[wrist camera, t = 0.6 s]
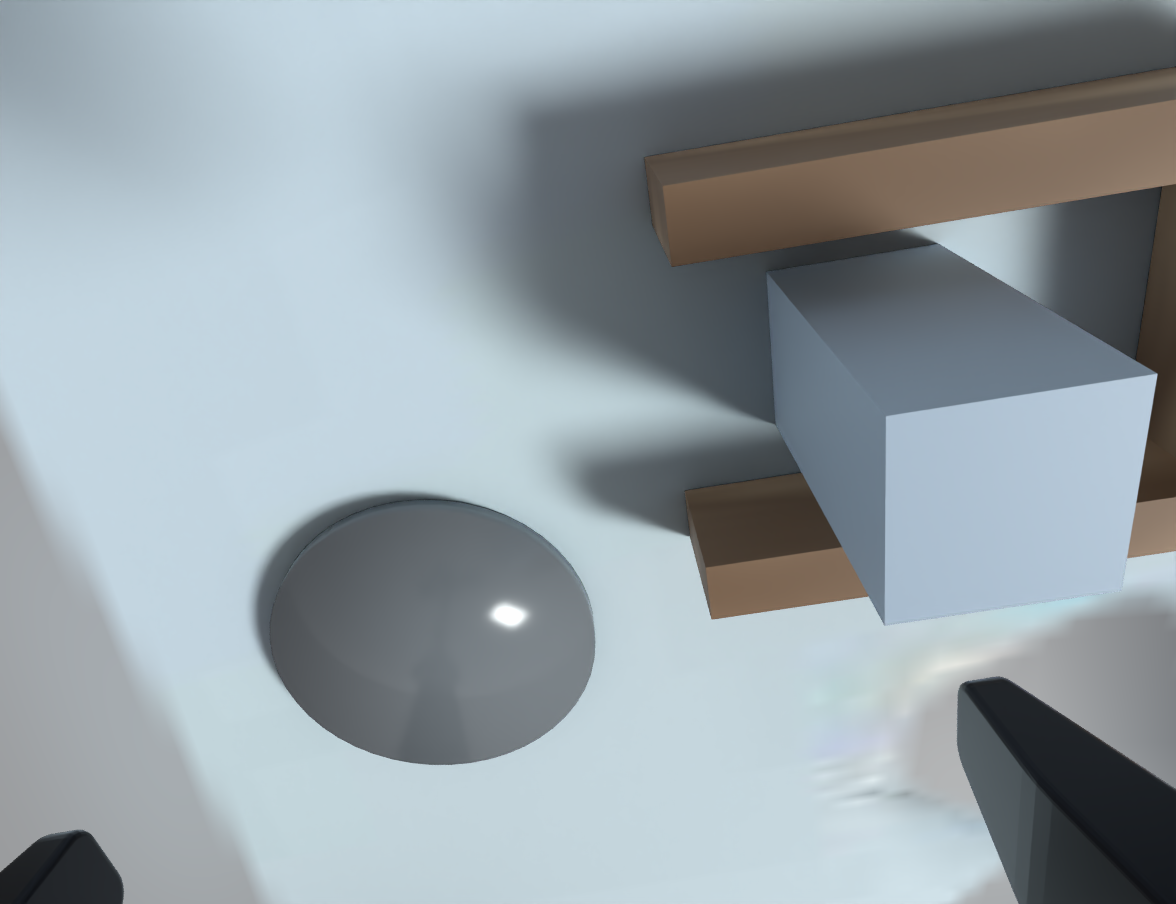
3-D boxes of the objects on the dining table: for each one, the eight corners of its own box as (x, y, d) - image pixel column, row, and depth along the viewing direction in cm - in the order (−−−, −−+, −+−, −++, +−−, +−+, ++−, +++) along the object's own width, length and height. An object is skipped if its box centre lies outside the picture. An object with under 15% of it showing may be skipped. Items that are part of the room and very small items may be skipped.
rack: (1175, 464, 23) (1275, 536, 19) (690, 537, 23) (711, 619, 20) (1252, 53, 18) (1399, 61, 15) (644, 157, 18) (663, 186, 15)
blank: (932, 399, 21) (1121, 591, 14) (775, 424, 22) (884, 625, 14) (938, 243, 20) (1157, 374, 12) (766, 271, 20) (885, 415, 13)
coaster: (614, 727, 26) (616, 741, 26) (330, 768, 26) (325, 783, 26) (566, 475, 22) (566, 486, 21) (229, 527, 22) (221, 540, 22)
